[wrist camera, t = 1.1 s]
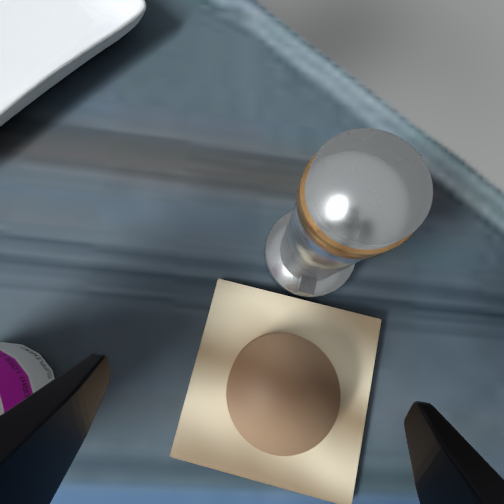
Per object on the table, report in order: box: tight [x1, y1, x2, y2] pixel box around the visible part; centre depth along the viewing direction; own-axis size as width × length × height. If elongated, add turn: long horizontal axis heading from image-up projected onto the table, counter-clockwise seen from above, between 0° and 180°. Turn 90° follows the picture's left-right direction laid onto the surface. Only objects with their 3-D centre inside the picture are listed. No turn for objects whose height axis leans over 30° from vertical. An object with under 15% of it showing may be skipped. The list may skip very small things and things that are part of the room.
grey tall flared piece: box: [265, 128, 433, 298], centre depth 18 cm, size 7×6×13 cm
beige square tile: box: [170, 279, 382, 504], centre depth 21 cm, size 12×12×3 cm
